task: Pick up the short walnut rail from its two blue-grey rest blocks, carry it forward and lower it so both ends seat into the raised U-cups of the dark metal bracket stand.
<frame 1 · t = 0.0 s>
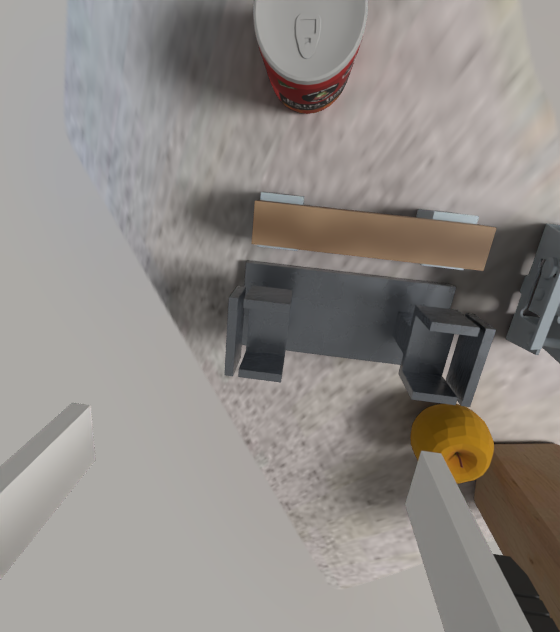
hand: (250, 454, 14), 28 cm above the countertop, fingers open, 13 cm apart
rail: (363, 231, 33), point 5 cm above the countertop, touching rest block a, rest block b
wooden block: (512, 470, 47), on the countertop
apple: (435, 414, 45), on the countertop
rest block a: (283, 218, 38), on the countertop
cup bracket: (341, 313, 41), on the countertop
bracket: (540, 285, 38), on the countertop
rest block b: (431, 235, 37), on the countertop
canned food: (309, 68, 33), on the countertop
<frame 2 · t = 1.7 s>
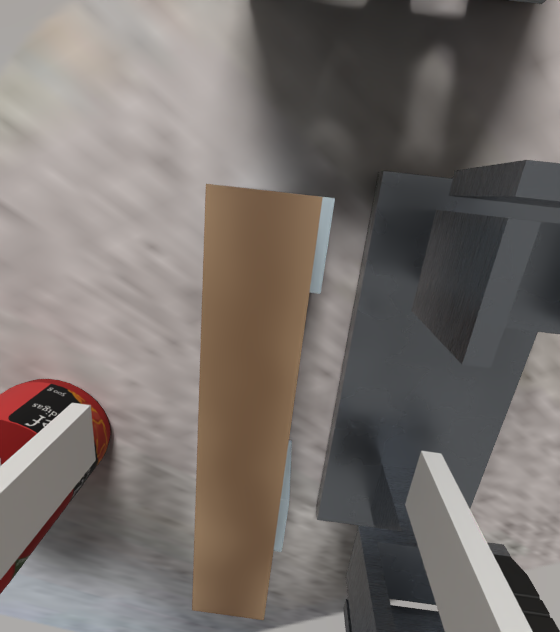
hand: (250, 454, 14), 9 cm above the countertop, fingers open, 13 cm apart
rail: (253, 402, 17), point 5 cm above the countertop, touching rest block a, rest block b
rest block a: (253, 459, 25), on the countertop
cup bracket: (421, 377, 22), on the countertop
rest block b: (276, 229, 19), on the countertop
canned food: (61, 420, 25), on the countertop
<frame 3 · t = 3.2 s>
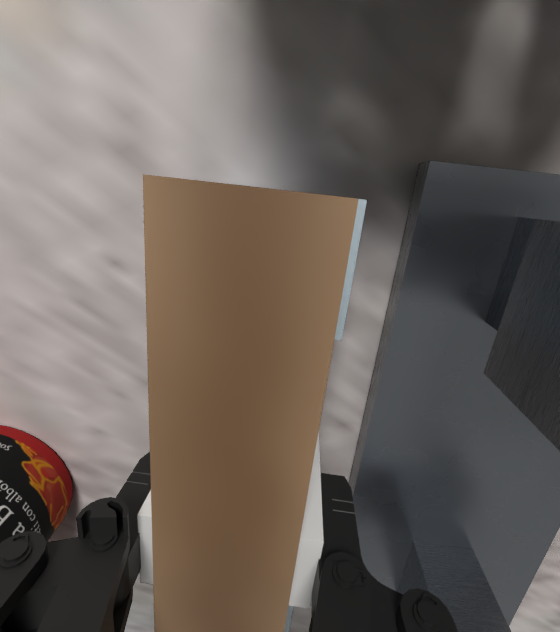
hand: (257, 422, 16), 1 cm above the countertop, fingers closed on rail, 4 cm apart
rail: (244, 484, 13), point 5 cm above the countertop, touching gripper, rest block a, rest block b
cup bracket: (466, 432, 17), on the countertop
rest block b: (278, 241, 15), on the countertop
canned food: (13, 472, 20), on the countertop
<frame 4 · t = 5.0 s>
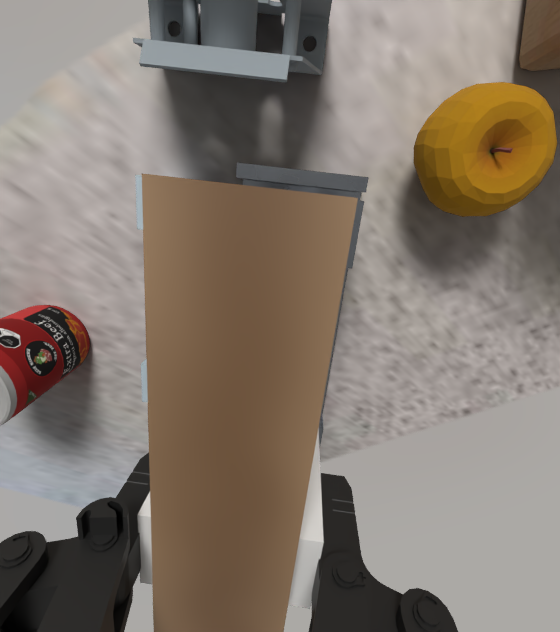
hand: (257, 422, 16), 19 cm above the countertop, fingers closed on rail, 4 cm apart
rail: (243, 484, 12), point 23 cm above the countertop, touching gripper
apple: (449, 159, 29), on the countertop
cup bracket: (287, 301, 34), on the countertop
bracket: (243, 36, 27), on the countertop
rest block b: (188, 204, 32), on the countertop
canned food: (57, 336, 37), on the countertop
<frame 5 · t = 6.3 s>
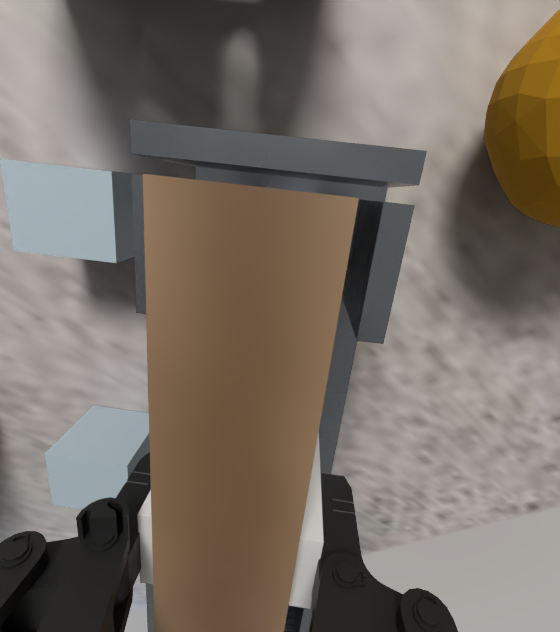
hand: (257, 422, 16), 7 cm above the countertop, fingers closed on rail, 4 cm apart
rail: (244, 484, 12), point 11 cm above the countertop, touching gripper
apple: (531, 135, 18), on the countertop
rest block a: (128, 432, 26), on the countertop
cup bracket: (272, 352, 23), on the countertop
rest block b: (117, 208, 20), on the countertop
when the fingers open (4 cm above the countertop, at t = 7.0 s): rail drops 1 cm, resting on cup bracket.
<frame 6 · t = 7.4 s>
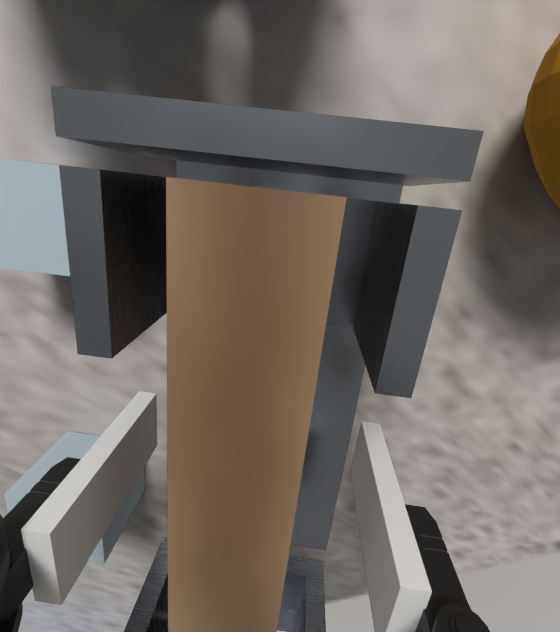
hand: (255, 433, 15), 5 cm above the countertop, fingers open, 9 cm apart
rail: (247, 459, 14), point 7 cm above the countertop, touching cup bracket
rest block a: (107, 461, 23), on the countertop
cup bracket: (268, 374, 20), on the countertop
rest block b: (87, 210, 18), on the countertop
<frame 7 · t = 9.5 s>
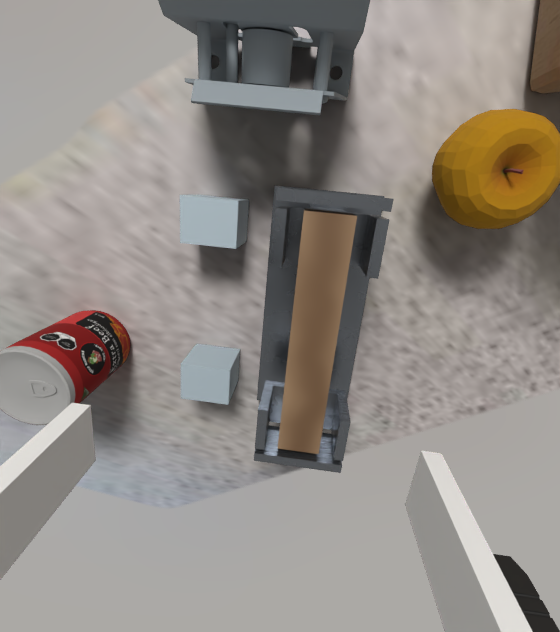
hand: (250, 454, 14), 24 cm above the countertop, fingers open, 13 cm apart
rail: (312, 330, 30), point 7 cm above the countertop, touching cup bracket
apple: (464, 174, 32), on the countertop
rest block a: (217, 362, 40), on the countertop
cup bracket: (313, 306, 37), on the countertop
bracket: (275, 67, 30), on the countertop
rest block b: (222, 218, 35), on the countertop
canned food: (100, 338, 41), on the countertop
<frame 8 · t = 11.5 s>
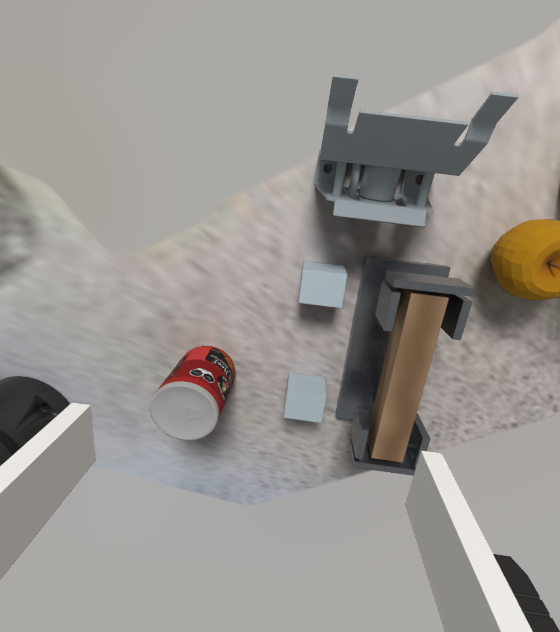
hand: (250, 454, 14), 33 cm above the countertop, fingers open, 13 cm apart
rail: (398, 369, 40), point 7 cm above the countertop, touching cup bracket
apple: (510, 251, 42), on the countertop
rest block a: (304, 387, 50), on the countertop
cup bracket: (386, 345, 47), on the countertop
bracket: (372, 172, 40), on the countertop
rest block b: (321, 278, 45), on the countertop
canned food: (209, 367, 50), on the countertop
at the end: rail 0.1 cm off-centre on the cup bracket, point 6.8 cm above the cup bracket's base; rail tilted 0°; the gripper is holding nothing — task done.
